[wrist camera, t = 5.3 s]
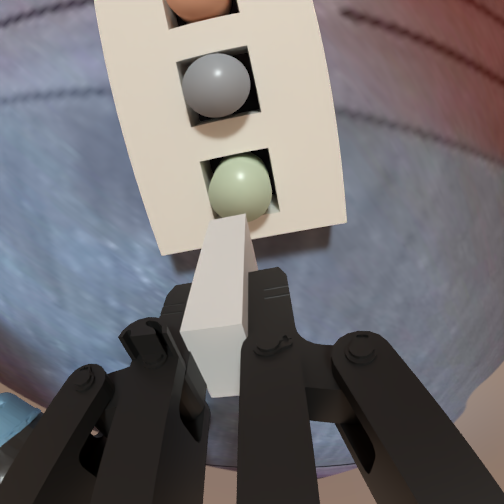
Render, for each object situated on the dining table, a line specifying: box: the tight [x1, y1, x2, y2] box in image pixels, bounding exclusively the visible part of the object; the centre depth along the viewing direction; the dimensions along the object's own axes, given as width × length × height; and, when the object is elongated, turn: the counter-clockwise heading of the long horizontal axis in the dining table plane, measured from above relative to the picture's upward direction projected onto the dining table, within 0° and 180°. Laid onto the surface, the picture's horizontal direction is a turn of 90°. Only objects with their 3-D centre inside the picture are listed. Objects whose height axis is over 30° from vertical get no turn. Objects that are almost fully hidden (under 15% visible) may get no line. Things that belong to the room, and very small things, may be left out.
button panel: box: [94, 0, 347, 256], centre depth 20 cm, size 22×14×4 cm, turn 11°
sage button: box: [208, 152, 272, 222], centre depth 22 cm, size 4×4×4 cm
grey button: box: [182, 53, 250, 118], centre depth 18 cm, size 4×4×4 cm
